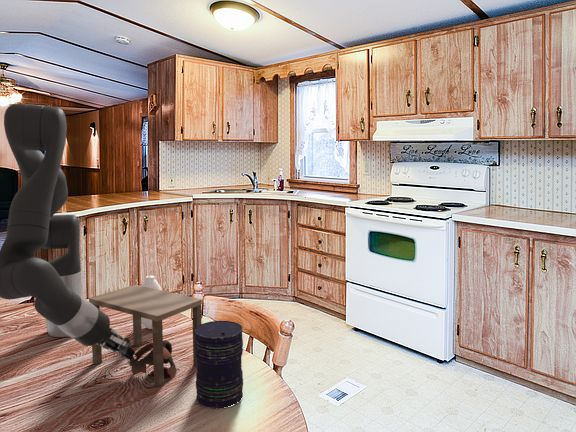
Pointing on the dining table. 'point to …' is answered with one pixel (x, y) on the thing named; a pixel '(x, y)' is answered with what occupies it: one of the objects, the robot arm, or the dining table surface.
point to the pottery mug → (148, 359)
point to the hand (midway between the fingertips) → (130, 355)
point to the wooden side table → (148, 317)
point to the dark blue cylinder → (219, 364)
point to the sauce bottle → (153, 284)
